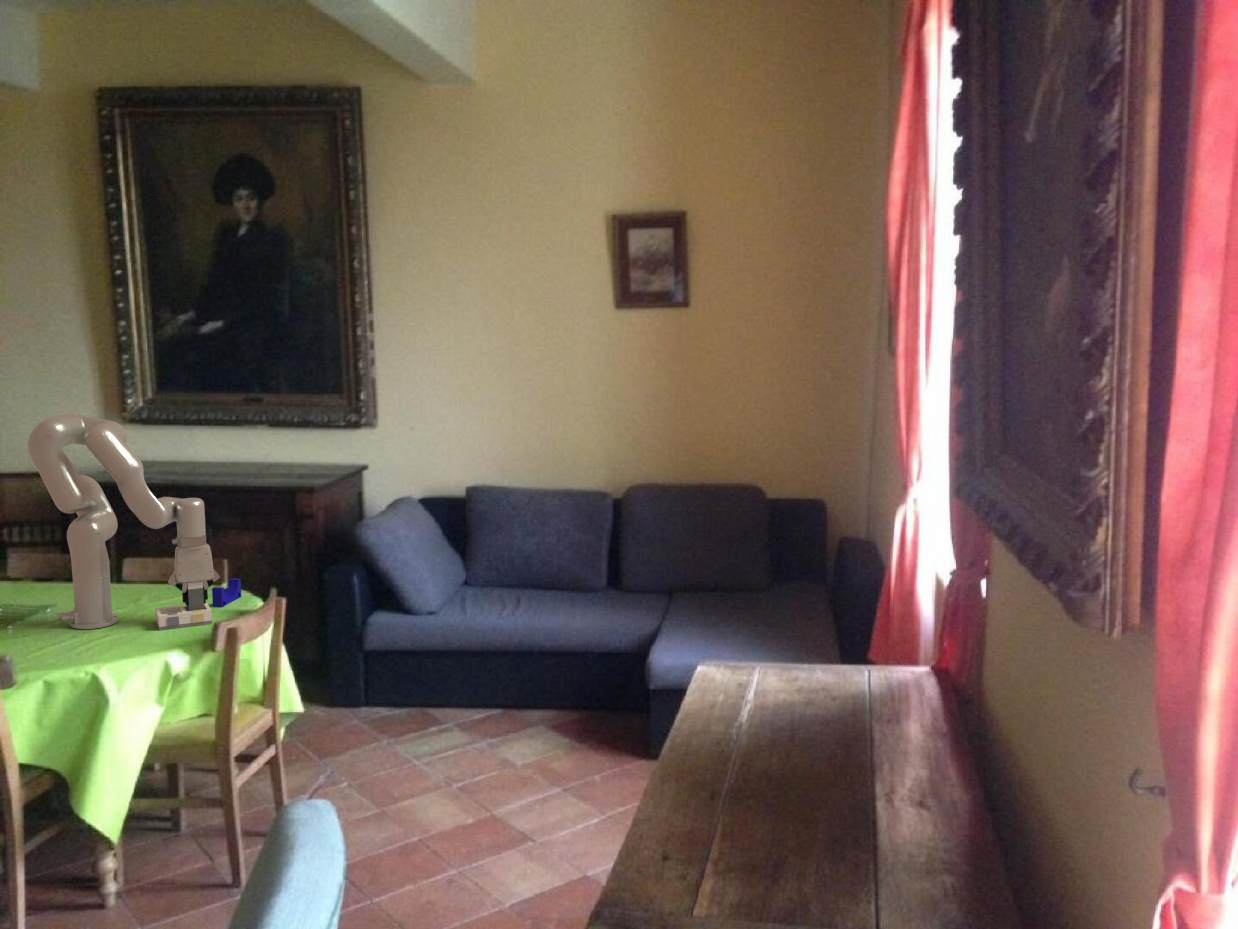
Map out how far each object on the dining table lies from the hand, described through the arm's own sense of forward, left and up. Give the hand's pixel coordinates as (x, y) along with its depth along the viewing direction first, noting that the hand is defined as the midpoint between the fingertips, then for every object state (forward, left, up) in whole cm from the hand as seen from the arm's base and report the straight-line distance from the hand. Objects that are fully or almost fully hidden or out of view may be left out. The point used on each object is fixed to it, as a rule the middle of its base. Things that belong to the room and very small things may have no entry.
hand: (195, 603), depth 306 cm
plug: (0, 0, -3) cm, 3 cm away
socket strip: (-3, 0, -5) cm, 6 cm away
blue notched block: (+11, +18, -6) cm, 22 cm away
